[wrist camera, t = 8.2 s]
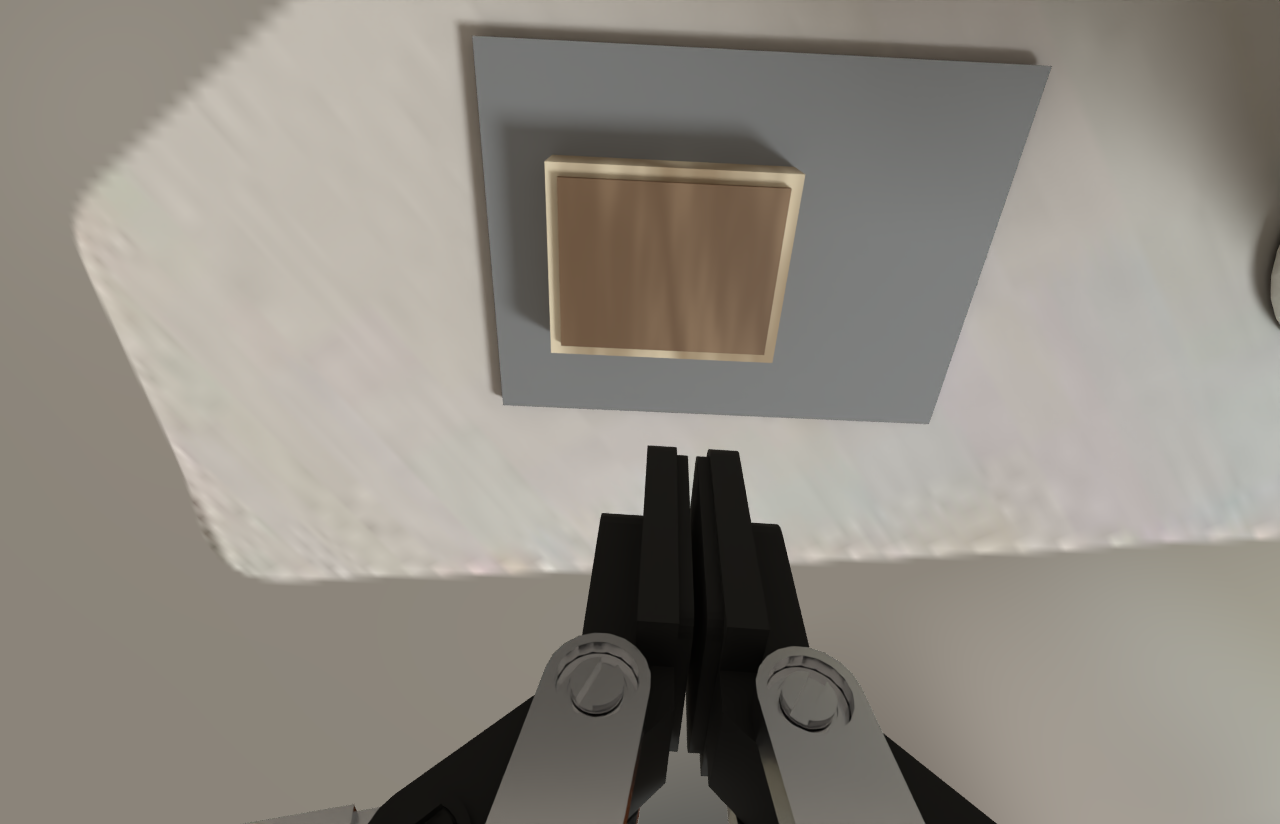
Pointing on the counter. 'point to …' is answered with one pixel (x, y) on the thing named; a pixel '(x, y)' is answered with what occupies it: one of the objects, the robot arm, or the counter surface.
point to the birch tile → (668, 256)
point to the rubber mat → (827, 221)
